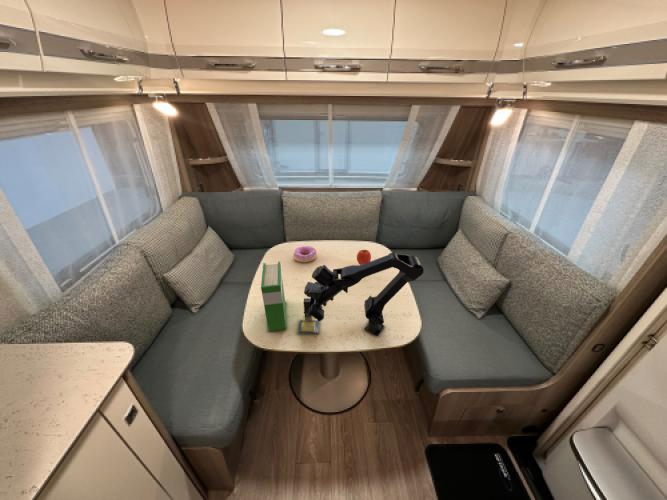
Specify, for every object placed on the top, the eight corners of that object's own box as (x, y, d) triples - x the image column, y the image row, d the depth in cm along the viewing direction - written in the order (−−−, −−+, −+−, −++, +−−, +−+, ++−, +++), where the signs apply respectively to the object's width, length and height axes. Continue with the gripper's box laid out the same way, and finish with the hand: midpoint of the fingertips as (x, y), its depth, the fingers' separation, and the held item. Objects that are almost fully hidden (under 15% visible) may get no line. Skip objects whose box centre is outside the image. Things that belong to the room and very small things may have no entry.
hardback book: (270, 304, 131) (263, 263, 119) (285, 302, 132) (280, 261, 120) (268, 331, 116) (260, 287, 104) (285, 329, 117) (280, 285, 105)
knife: (312, 322, 118) (311, 298, 111) (312, 326, 116) (310, 302, 108) (305, 322, 118) (303, 298, 111) (305, 326, 116) (302, 302, 109)
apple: (361, 260, 164) (362, 245, 159) (373, 265, 160) (374, 250, 154) (353, 266, 159) (354, 251, 153) (365, 272, 154) (366, 256, 148)
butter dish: (319, 321, 120) (318, 315, 119) (317, 333, 114) (317, 327, 112) (300, 321, 121) (300, 315, 119) (298, 333, 114) (297, 327, 113)
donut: (292, 253, 172) (291, 246, 169) (313, 250, 176) (313, 243, 173) (296, 265, 160) (295, 258, 158) (319, 261, 164) (319, 254, 161)
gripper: (317, 265, 112) (293, 286, 118) (313, 294, 96) (286, 316, 102) (336, 280, 116) (312, 300, 122) (335, 310, 100) (307, 331, 106)
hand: (304, 310), depth 113 cm, fingers closed on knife, 2 cm apart
